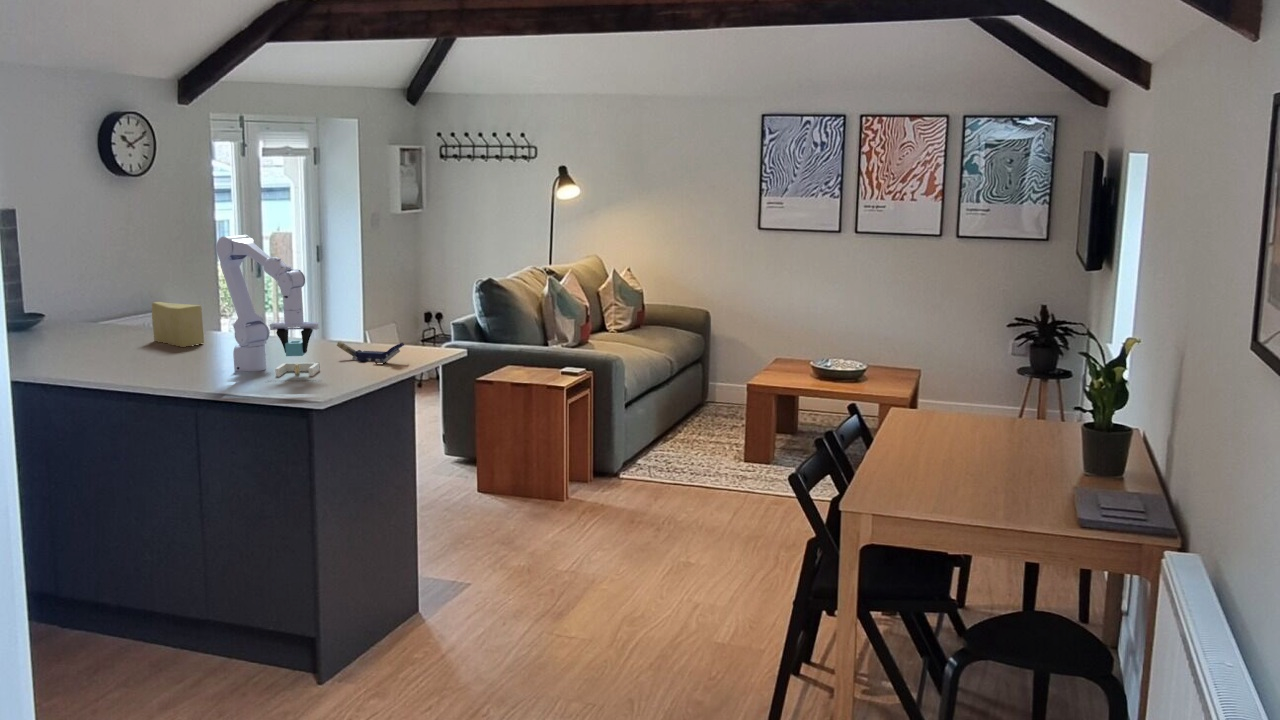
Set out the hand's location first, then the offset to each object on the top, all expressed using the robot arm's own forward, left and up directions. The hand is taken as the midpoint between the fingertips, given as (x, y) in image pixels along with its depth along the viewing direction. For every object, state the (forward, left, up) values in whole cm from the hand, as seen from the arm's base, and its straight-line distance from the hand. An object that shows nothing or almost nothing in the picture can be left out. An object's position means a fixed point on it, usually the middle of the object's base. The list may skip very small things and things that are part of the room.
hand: (296, 352), depth 356 cm
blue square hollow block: (0, 0, -1) cm, 1 cm away
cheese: (-62, +65, -8) cm, 90 cm away
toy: (+18, +23, -8) cm, 30 cm away
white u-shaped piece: (0, +1, -7) cm, 7 cm away
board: (+1, +3, -8) cm, 9 cm away
